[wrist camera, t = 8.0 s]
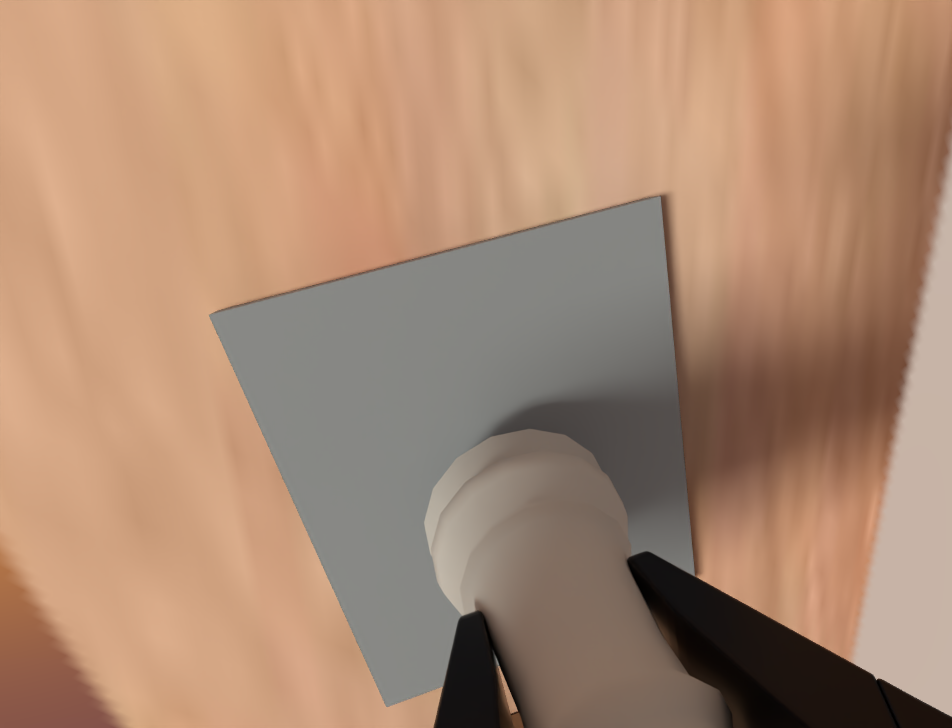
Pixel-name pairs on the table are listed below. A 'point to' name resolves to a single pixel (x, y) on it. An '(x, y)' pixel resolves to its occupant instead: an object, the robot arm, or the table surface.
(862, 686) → the robot arm
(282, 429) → the slate mat
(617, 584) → the rook chess piece
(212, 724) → the table surface
